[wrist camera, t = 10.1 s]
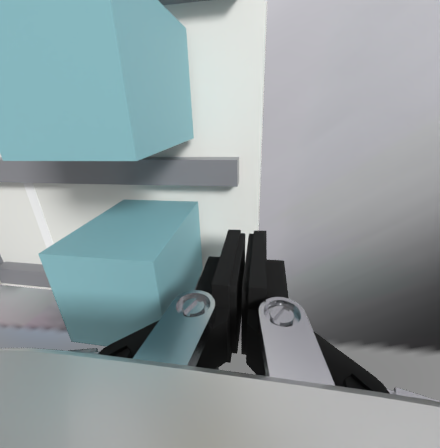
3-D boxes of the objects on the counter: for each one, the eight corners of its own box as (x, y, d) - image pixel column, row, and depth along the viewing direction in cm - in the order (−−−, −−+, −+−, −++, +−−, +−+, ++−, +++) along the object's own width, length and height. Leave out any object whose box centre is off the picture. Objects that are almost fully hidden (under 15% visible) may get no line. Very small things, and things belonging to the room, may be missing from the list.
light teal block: (186, 28, 10) (101, -56, 5) (193, 138, 11) (137, 160, 6) (91, 36, 10) (-70, -30, 5) (112, 139, 12) (2, 161, 7)
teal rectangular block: (198, 201, 13) (153, 262, 8) (202, 268, 14) (168, 354, 9) (123, 199, 13) (38, 253, 8) (136, 263, 15) (71, 341, 10)
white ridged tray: (282, -387, 7) (300, -982, 3) (256, 288, 17) (253, 342, 13) (-211, -216, 10) (-498, -411, 7) (7, 267, 20) (-56, 305, 16)
